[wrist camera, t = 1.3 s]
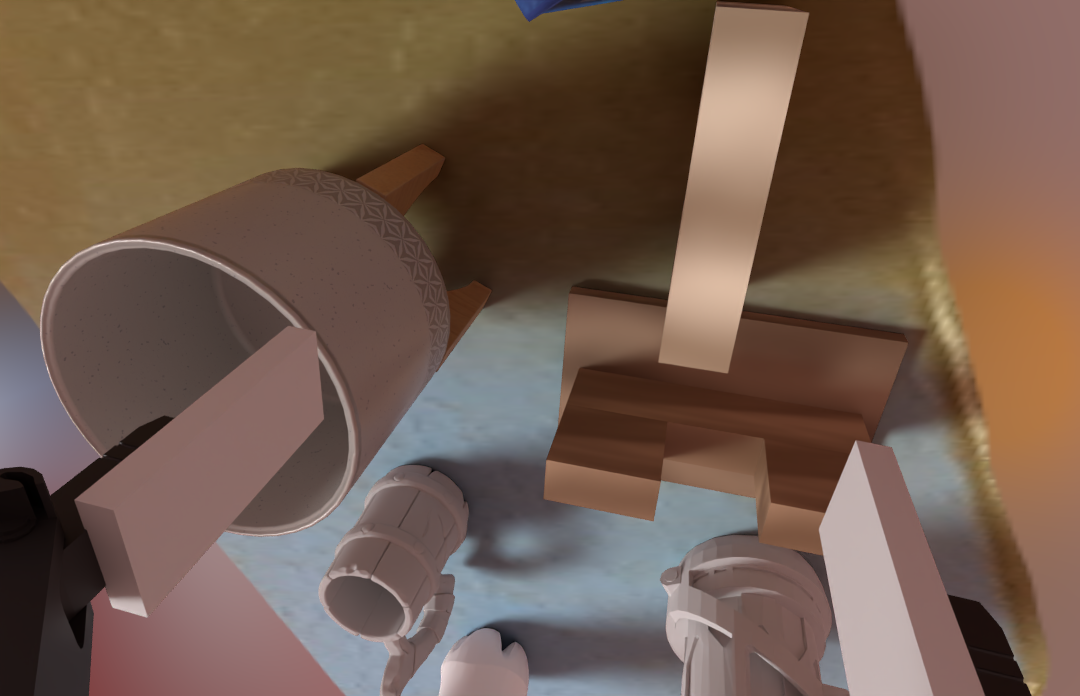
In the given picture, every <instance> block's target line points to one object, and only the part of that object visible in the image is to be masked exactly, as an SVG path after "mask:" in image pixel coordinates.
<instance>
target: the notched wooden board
mask: <svg viewBox="0 0 1080 696" xmlns="http://www.w3.org/2000/svg"><path fill="white" fill-rule="evenodd" d="M808 16H809V13H808V12H805V11H802V10H799V9H795V8H792V7H789V6H785V5H771V4H756V3H741V2H726V1H717V2H716V8H715V14H714V20H713V26H712V33H711V39H710V45H709V51H708V57H707V63H706V69H705V75H704V82H703V88H702V94H701V100H700V106H699V112H698V120H697V127H696V133H695V139H694V145H693V152H692V158H691V164H690V170H689V176H688V182H687V188H686V194H685V200H684V204H683V210H682V216H681V222H680V228H679V234H678V240H677V247H676V253H675V259H674V265H673V271H672V277H671V283H670V290H669V296H668V303H667V309H666V316H665V322H664V329H663V335H662V342H661V348H660V355H659V361H658V362H659V363H666V364H672V365H678V366H684V367H691V368H697V369H703V370H709V371H715V372H722V373H728V370H729V366H730V361H731V357H732V352H733V348H734V344H735V339H736V335H737V330H738V326H739V321H740V317H741V313H742V308H743V304H744V299H745V295H746V290H747V286H748V282H749V277H750V273H751V268H752V264H753V260H754V255H755V251H756V246H757V242H758V237H759V233H760V229H761V224H762V220H763V215H764V211H765V206H766V202H767V198H768V193H769V189H770V184H771V180H772V176H773V171H774V167H775V162H776V158H777V153H778V149H779V145H780V140H781V136H782V131H783V127H784V122H785V118H786V114H787V109H788V105H789V100H790V96H791V91H792V87H793V83H794V78H795V74H796V69H797V65H798V61H799V56H800V52H801V47H802V43H803V38H804V34H805V30H806V25H807V21H808Z"/></svg>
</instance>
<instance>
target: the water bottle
mask: <svg viewBox="0 0 1080 696" xmlns="http://www.w3.org/2000/svg"><path fill="white" fill-rule="evenodd" d="M528 684H529V667H528V661H527V657H526V653H525V652H524V650H523V648H522V646H521V645H520V644H518V643H517V642H514V643H512V644H510V645H509V646H508V647H507V648H506V649H504V650H503V651H502V649H501V637H500V633H499V632H497V631H496V630H494V629H489V628H483V629H480V630H476V631H475V632H473V633H472V634H471V635H469V636H464V637H462V638H461V639H460V640H458V641H457V642H456V643H455V644H454V645H453V646H452V648H451V649H450V651H449V652H448V654H447V656H446V658H445V660H444V662H443V664H442V666H441V687H440V692H439V696H526V695H527V691H528Z"/></svg>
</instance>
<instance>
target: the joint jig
mask: <svg viewBox="0 0 1080 696" xmlns="http://www.w3.org/2000/svg"><path fill="white" fill-rule="evenodd" d="M667 303H668V300H663V299H657V298H650V297H643V296H636V295H629V294H622V293H615V292H608V291H601V290H594V289H587V288H580V287H573V286H572V288H571V290H570V292H569V299H568V311H567V323H566V335H565V347H564V359H563V372H562V384H561V396H560V408H559V420H558V429H557V432H556V434H555V437H554V440H553V443H552V446H551V448H550V451H549V454H548V457H547V459H546V472H545V485H544V499H546V500H551V501H556V502H561V503H566V504H571V505H576V506H580V507H585V508H590V509H595V510H600V511H605V512H610V513H615V514H620V515H625V516H630V517H635V518H640V519H645V520H650V521H654V515H655V510H656V504H657V499H658V494H659V488H660V483H661V480H663V481H668V482H673V483H678V484H684V485H689V486H694V487H699V488H705V489H710V490H715V491H720V492H725V493H731V494H736V495H741V496H746V497H752V498H756V509H757V522H758V535H759V543H763V544H768V545H773V546H778V547H783V548H788V549H793V550H798V551H803V552H808V553H813V554H818V555H823V549H822V544H821V539H820V533H819V527H820V525H821V523H822V520H823V518H824V515H825V513H826V511H827V508H828V506H829V503H830V501H831V498H832V496H833V494H834V491H835V489H836V486H837V484H838V482H839V479H840V477H841V474H842V472H843V470H844V467H845V465H846V462H847V460H848V458H849V455H850V453H851V450H852V448H853V446H854V443H855V441H856V440H858V441H863V442H868V443H871V442H872V439H873V437H874V434H875V431H876V429H877V426H878V423H879V421H880V418H881V415H882V413H883V410H884V407H885V405H886V402H887V399H888V397H889V394H890V391H891V389H892V386H893V383H894V381H895V378H896V375H897V373H898V370H899V367H900V365H901V362H902V359H903V356H904V354H905V351H906V348H907V346H908V341H907V339H906V337H905V335H904V334H899V333H892V332H885V331H879V330H872V329H865V328H858V327H851V326H844V325H837V324H830V323H823V322H816V321H809V320H802V319H795V318H788V317H781V316H774V315H768V314H761V313H754V312H747V311H742V313H741V317H740V321H739V326H738V330H737V335H736V339H735V344H734V348H733V352H732V357H731V361H730V366H729V370H728V373H722V372H715V371H709V370H703V369H697V368H691V367H684V366H678V365H672V364H666V363H659V362H658V361H659V355H660V348H661V342H662V335H663V329H664V322H665V316H666V309H667ZM823 556H824V555H823Z"/></svg>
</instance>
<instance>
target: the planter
mask: <svg viewBox="0 0 1080 696" xmlns="http://www.w3.org/2000/svg"><path fill="white" fill-rule="evenodd" d="M444 161H445V157H444V156H442V155H440V154H439V153H437V152H435V151H434V150H432V149H430V148H429V147H427V146H425V145H424V144H421V145H419V146H417V147H415V148H413V149H411V150H410V151H408V152H406V153H404V154H402V155H400V156H399V157H397V158H395V159H393V160H391V161H389V162H387V163H386V164H384V165H382V166H380V167H378V168H376V169H374V170H373V171H371V172H369V173H367V174H365V175H363V176H362V177H360V178H358V179H357V180H356V182H354V181H352V180H350V179H347V178H345V177H343V176H340V175H337V174H333V173H329V172H325V171H321V170H314V169H304V168H292V169H280V170H276V171H272V172H268V173H264V174H262V175H259V176H257V177H254V178H252V179H250V180H247V181H245V182H242V183H240V184H238V185H235V186H233V187H230V188H228V189H226V190H223V191H221V192H218V193H216V194H214V195H211V196H209V197H207V198H204V199H202V200H199V201H197V202H195V203H192V204H190V205H187V206H185V207H183V208H180V209H178V210H175V211H173V212H171V213H168V214H166V215H163V216H161V217H159V218H156V219H154V220H151V221H149V222H147V223H144V224H142V225H139V226H137V227H135V228H132V229H130V230H127V231H125V232H123V233H120V234H118V235H116V236H113V237H111V238H108V239H106V240H104V241H101V242H99V243H96V244H94V245H92V246H90V247H88V248H86V249H84V250H82V251H80V252H78V253H76V254H75V255H74V256H73V257H72V258H70V259H69V260H68V261H67V262H65V263H64V264H63V265H62V266H61V268H60V269H59V270H58V272H57V273H56V275H55V276H54V277H53V279H52V280H51V282H50V284H49V287H48V289H47V291H46V294H45V296H44V299H43V305H42V310H41V315H40V338H41V344H42V350H43V356H44V360H45V364H46V367H47V370H48V373H49V376H50V379H51V382H52V384H53V386H54V388H55V391H56V393H57V395H58V397H59V399H60V401H61V403H62V405H63V406H64V408H65V410H66V411H67V413H68V414H69V417H70V418H71V420H72V421H73V423H74V424H75V426H76V427H77V428H78V430H79V431H80V432H81V434H82V435H83V436H84V438H85V439H86V440H87V442H88V443H89V444H90V445H91V446H92V447H93V449H94V450H95V451H96V452H97V453H98V454H99V455H100V457H101V458H102V457H103V454H105V453H106V452H107V451H108V450H110V449H111V448H112V447H113V446H115V445H116V446H118V445H119V442H120V441H121V440H122V439H124V438H125V437H126V436H128V435H129V434H130V433H131V432H133V431H134V430H135V429H137V428H138V427H140V426H142V425H144V424H146V423H148V422H151V421H153V420H155V419H157V418H160V417H162V416H169V417H173V418H176V417H177V416H178V415H179V414H181V413H182V412H183V411H184V410H185V409H187V408H188V407H189V406H190V405H192V404H193V403H194V402H195V401H196V400H198V399H199V398H200V397H201V396H203V395H204V394H205V393H206V392H208V391H209V390H210V389H211V388H212V387H214V386H215V385H216V384H217V383H219V382H220V381H221V380H222V379H224V378H225V377H226V376H227V375H228V374H230V373H231V372H232V371H233V370H235V369H236V368H237V367H238V366H239V365H241V364H242V363H243V362H244V361H246V360H247V359H248V358H249V357H251V356H252V355H253V354H254V353H255V352H257V351H258V350H259V349H260V348H262V347H263V346H264V345H265V344H266V343H268V342H269V341H270V340H271V339H273V338H274V337H275V336H276V335H278V334H279V333H280V332H281V331H282V330H284V329H285V328H286V327H287V326H292V327H297V328H302V329H307V330H312V331H316V338H317V349H318V360H319V371H320V381H321V392H322V403H323V414H324V420H323V421H322V422H321V423H320V424H319V425H318V426H317V427H316V429H315V430H314V431H313V432H312V433H311V434H310V435H309V436H308V438H307V439H306V440H305V441H304V442H303V443H302V444H301V445H300V447H299V448H298V449H297V450H296V451H295V452H294V453H293V455H292V456H291V457H290V458H289V459H288V460H287V461H286V462H285V464H284V465H283V466H282V467H281V468H280V469H279V470H278V471H277V473H276V474H275V475H274V476H273V477H272V478H271V479H270V480H269V482H268V483H267V484H266V485H265V486H264V487H263V488H262V489H261V491H260V492H259V493H258V494H257V495H256V496H255V497H254V498H253V500H252V501H251V502H250V503H249V504H248V505H247V506H246V507H245V509H244V510H243V511H242V512H241V513H240V514H239V515H238V516H237V518H236V519H235V520H234V521H233V522H232V523H231V524H230V525H229V527H228V528H227V529H226V530H225V532H229V533H234V534H238V535H248V536H258V537H261V536H280V535H285V534H290V533H295V532H298V531H301V530H303V529H306V528H309V527H311V526H313V525H315V524H316V523H318V522H320V521H321V520H323V519H324V518H326V517H327V516H328V515H330V514H331V513H332V512H333V511H334V510H335V509H336V508H337V507H338V506H339V505H340V503H341V502H342V500H343V499H344V498H345V496H346V495H347V494H348V492H349V491H350V489H351V488H352V487H353V485H354V484H355V483H356V481H357V480H358V478H359V477H360V476H361V474H362V473H363V472H364V470H365V469H366V467H367V466H368V465H369V463H370V462H371V461H372V459H373V458H374V456H375V455H376V454H377V452H378V451H379V449H380V448H381V447H382V445H383V444H384V443H385V441H386V440H387V438H388V437H389V436H390V434H391V433H392V432H393V430H394V429H395V427H396V426H397V425H398V423H399V422H400V421H401V419H402V418H403V416H404V415H405V414H406V412H407V411H408V410H409V408H410V407H411V405H412V404H413V403H414V401H415V400H416V399H417V397H418V396H419V394H420V393H421V392H422V390H423V389H424V388H425V386H426V385H427V383H428V382H429V381H430V379H431V378H432V376H433V375H434V373H435V372H437V371H438V370H439V368H440V367H441V365H442V364H443V363H444V361H445V360H446V359H447V357H448V356H449V354H450V353H451V352H452V350H453V349H454V348H455V346H456V345H457V343H458V342H459V341H460V339H461V338H462V336H463V335H464V334H465V332H466V331H467V330H468V328H469V327H470V325H471V324H472V323H473V321H474V320H475V318H476V317H477V316H478V314H479V313H480V312H481V310H482V309H483V307H484V305H485V303H486V301H487V300H488V298H489V296H490V294H491V292H492V290H490V289H489V288H487V287H485V286H483V285H482V284H480V283H478V282H477V281H475V280H474V281H473V282H472V283H471V284H469V285H468V286H465V287H463V288H460V289H457V290H451V291H446V287H445V284H444V280H443V277H442V275H441V272H440V270H439V268H438V265H437V263H436V260H435V259H434V257H433V255H432V253H431V252H430V250H429V248H428V247H427V245H426V243H425V241H424V240H423V239H422V238H421V236H420V235H419V234H418V232H417V231H416V230H415V228H414V227H413V226H412V225H411V223H410V222H409V221H408V220H407V219H406V218H405V217H404V215H405V214H406V212H407V211H408V209H409V208H410V207H411V205H412V204H413V203H414V201H415V200H416V199H417V197H418V196H419V195H420V194H421V192H422V191H423V190H424V189H425V188H426V187H427V186H428V185H429V184H430V183H431V182H432V181H433V180H434V179H435V178H436V177H438V174H439V172H440V170H441V168H442V165H443V163H444Z"/></svg>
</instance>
